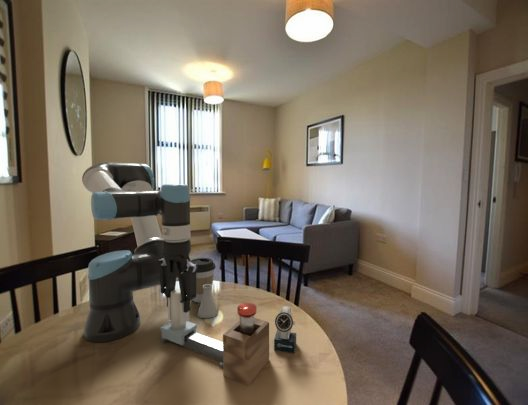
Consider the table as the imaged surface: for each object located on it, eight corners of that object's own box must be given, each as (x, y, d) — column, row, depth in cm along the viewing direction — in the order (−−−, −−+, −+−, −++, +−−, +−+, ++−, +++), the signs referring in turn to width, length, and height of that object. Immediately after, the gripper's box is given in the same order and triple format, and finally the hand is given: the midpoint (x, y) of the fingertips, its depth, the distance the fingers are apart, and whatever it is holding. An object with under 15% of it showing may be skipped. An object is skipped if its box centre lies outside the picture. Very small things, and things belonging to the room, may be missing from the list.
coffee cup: (222, 296, 104) (221, 259, 103) (201, 308, 95) (200, 267, 94) (201, 290, 110) (200, 255, 109) (179, 300, 101) (179, 262, 100)
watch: (272, 354, 69) (272, 314, 68) (278, 337, 77) (278, 301, 76) (293, 358, 68) (294, 317, 67) (297, 340, 76) (297, 303, 75)
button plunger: (233, 334, 63) (233, 309, 62) (244, 325, 67) (244, 301, 66) (250, 339, 61) (250, 313, 60) (259, 329, 65) (259, 305, 64)
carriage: (160, 337, 74) (159, 293, 73) (177, 327, 80) (175, 285, 79) (181, 345, 71) (180, 299, 70) (196, 334, 76) (196, 290, 75)
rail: (161, 342, 75) (160, 331, 74) (177, 331, 80) (176, 322, 80) (223, 367, 64) (223, 356, 64) (237, 353, 69) (237, 342, 69)
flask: (213, 320, 87) (213, 290, 86) (193, 318, 88) (192, 289, 87) (221, 309, 94) (221, 282, 93) (202, 307, 95) (202, 281, 94)
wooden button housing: (223, 375, 62) (222, 334, 61) (245, 351, 70) (245, 315, 70) (248, 386, 58) (248, 343, 58) (269, 359, 67) (269, 322, 66)
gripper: (144, 238, 74) (147, 318, 76) (189, 245, 66) (191, 335, 68) (165, 234, 80) (168, 307, 82) (209, 240, 72) (210, 321, 74)
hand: (178, 319), depth 75 cm, fingers closed on carriage, 4 cm apart
